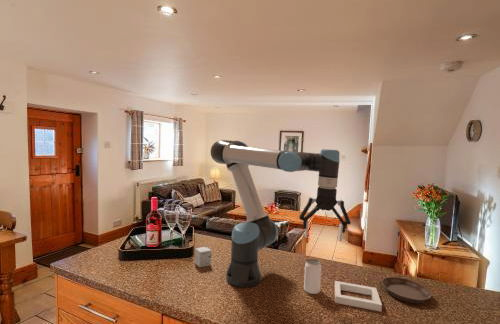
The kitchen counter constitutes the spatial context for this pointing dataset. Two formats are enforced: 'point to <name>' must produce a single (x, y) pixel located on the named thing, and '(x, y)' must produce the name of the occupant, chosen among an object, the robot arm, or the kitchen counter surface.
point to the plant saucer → (406, 290)
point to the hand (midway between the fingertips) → (322, 238)
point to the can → (312, 276)
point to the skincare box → (202, 256)
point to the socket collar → (355, 301)
